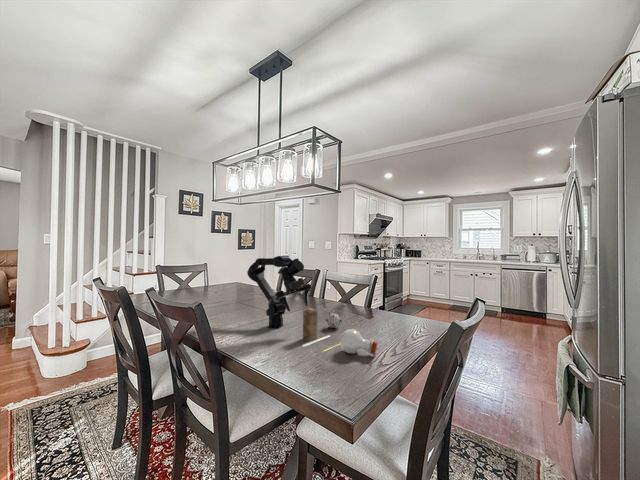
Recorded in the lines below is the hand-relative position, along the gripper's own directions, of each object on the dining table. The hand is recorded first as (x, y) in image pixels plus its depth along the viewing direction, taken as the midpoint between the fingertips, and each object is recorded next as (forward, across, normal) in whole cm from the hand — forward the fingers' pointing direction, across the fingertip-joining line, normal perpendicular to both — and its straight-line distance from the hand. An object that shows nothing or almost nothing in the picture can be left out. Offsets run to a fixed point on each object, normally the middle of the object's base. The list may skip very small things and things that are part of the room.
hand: (298, 308), depth 132 cm
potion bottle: (+27, +10, -23) cm, 37 cm away
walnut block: (+15, 0, -2) cm, 15 cm away
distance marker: (+22, +5, -14) cm, 26 cm away
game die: (+14, +18, +7) cm, 24 cm away
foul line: (+17, +2, -6) cm, 18 cm away
